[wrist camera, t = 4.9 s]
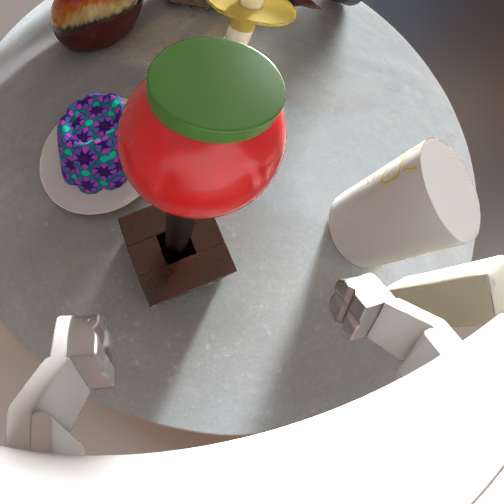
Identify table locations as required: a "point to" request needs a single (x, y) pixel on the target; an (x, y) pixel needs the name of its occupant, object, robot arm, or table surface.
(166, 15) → the table surface
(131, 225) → the block
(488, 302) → the box
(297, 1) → the stuffed fox
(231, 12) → the candle
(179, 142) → the joystick
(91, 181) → the pudding
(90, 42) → the vase
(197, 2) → the brown textured cylinder
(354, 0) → the headphones
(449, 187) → the white cylinder
